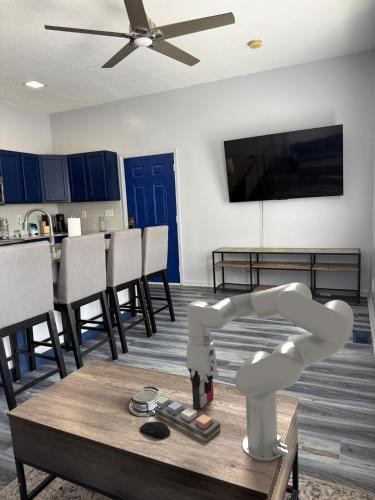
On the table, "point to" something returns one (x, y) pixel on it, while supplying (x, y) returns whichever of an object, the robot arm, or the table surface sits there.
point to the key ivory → (189, 414)
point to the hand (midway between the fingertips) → (202, 389)
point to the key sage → (162, 402)
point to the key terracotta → (203, 421)
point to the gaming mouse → (155, 430)
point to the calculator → (201, 393)
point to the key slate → (175, 408)
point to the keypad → (188, 423)
